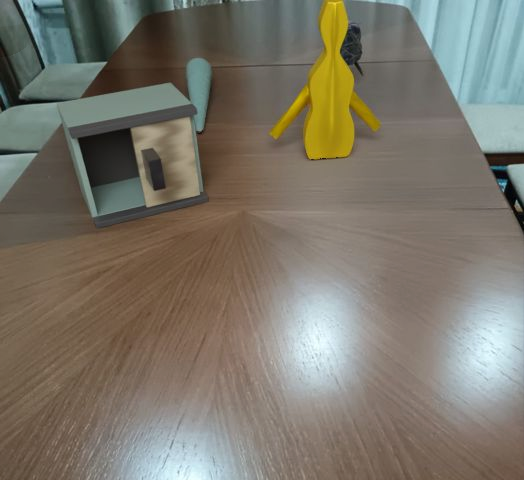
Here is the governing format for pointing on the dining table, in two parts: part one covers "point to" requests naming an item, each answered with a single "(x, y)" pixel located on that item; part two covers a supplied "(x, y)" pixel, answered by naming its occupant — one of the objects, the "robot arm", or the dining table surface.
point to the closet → (120, 149)
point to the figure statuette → (328, 94)
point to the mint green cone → (199, 88)
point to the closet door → (166, 160)
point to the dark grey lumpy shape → (352, 46)
